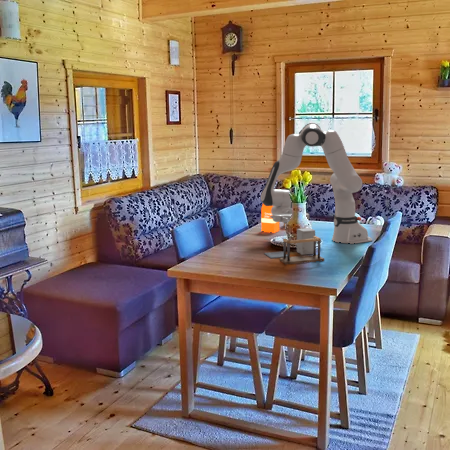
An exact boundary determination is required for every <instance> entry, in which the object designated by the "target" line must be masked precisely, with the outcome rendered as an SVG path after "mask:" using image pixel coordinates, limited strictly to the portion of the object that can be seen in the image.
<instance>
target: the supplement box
mask: <svg viewBox="0 0 450 450" xmlns="http://www.w3.org/2000/svg"><path fill="white" fill-rule="evenodd" d="M313 236H316V230H315V229H313V228H311V227H305V228H304V227H302V228H301V227H300V228H296V240H302V239H313ZM313 249H314V242H302V243H296V253H298V254H300V256H306V255H313Z"/></svg>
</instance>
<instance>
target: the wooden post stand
mask: <svg viewBox="0 0 450 450" xmlns="http://www.w3.org/2000/svg"><path fill="white" fill-rule="evenodd" d="M282 240H283V252H284V259H286V254H287V261H290V257H291V244H297V243H302V242H314V249H313V254H312V255H313V256H316V255H318V258H320V256H321V241H322V238H320V237H318V236H316V235H315V236H313V239H302V240H297V239H294V240H293V239H291V240H290V239H287V238H286V237H285V238H283V239H282Z"/></svg>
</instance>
